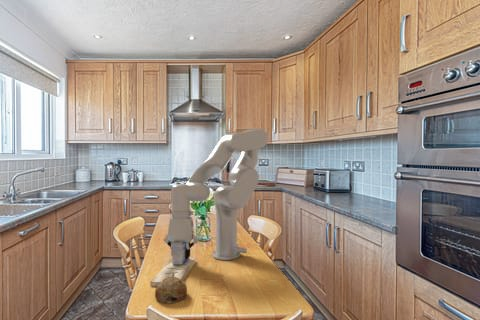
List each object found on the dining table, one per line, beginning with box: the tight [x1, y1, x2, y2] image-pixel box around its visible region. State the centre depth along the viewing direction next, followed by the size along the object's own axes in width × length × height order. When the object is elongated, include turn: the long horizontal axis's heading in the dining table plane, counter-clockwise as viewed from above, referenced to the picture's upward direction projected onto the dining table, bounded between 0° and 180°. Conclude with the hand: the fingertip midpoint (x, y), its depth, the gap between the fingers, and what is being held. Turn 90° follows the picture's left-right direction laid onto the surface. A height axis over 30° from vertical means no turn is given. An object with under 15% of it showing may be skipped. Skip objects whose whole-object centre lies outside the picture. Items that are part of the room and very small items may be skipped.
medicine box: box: [171, 242, 190, 265], centre depth 123 cm, size 8×4×9 cm, turn 169°
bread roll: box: [154, 277, 188, 305], centre depth 97 cm, size 10×10×8 cm
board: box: [149, 257, 197, 287], centre depth 116 cm, size 10×24×2 cm, turn 174°
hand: (180, 257), depth 124 cm, fingers closed on medicine box, 4 cm apart
